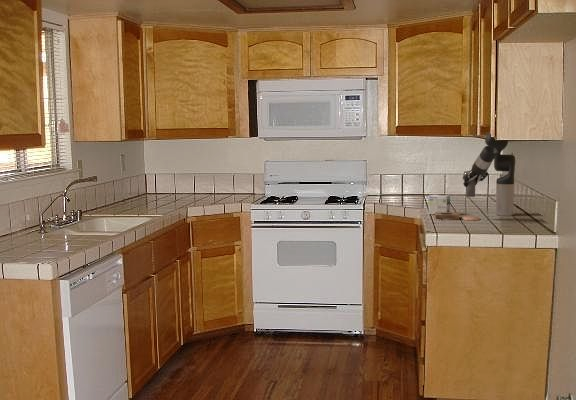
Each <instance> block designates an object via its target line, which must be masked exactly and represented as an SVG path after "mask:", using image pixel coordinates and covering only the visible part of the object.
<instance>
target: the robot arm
mask: <svg viewBox="0 0 576 400" xmlns="http://www.w3.org/2000/svg"><path fill="white" fill-rule="evenodd" d="M484 142H485V144H486V146H484V147H483V148H482V151H481V152H480V153H479V154H478V156H477V158H476V159H475V160H474V162H473V164H472V165H471V169H470V170H468V171H469V172H466V171H467V170H465V171H464V172H463V174H462V179H463V181H464V182H463V186H464V187H465V188H467V185H468V183H469V182H470V181H471V180H473V179H474V178H476V181H475V186H477V185H478V183H480V182H483V181H484V180H485V179H486V178H487V177H489V172H488V170H489V168H490V166H491V165H492V163H493V167H494V170H495V171H496V172H508V173H506V175H504V176H501V177H498V178H496V182H495V185H496V187H495V188H496V191H495V193H496V195H495V215H496V216H501V217H502V216H503V217H507V216H509V217H510V216H514V209H515V208H514V206H515V203H514V202H515V170H516V169H515V168H516V157H515V154H502V153H501V152H502V151H503V150H505V149H506V147H507V146H508V144H509V140H508V141H495V139H494V138H492V137H491V134H490V131H488V133H487V135H486V136H485V139H484ZM471 177H472V178H471ZM468 178H469V180H468Z"/></svg>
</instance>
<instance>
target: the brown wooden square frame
mask: <svg viewBox="0 0 576 400" xmlns="http://www.w3.org/2000/svg"><path fill="white" fill-rule="evenodd" d="M435 218H436V219H449V220H448V221H460V214H459V213H458V212H453V211H452V212H451V211H450V212H435V215H434V219H435ZM436 219H435V220H436ZM450 219H451V220H450Z"/></svg>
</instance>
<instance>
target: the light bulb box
mask: <svg viewBox="0 0 576 400" xmlns="http://www.w3.org/2000/svg"><path fill="white" fill-rule="evenodd" d="M435 212H451V195H450V194H449V195H445V194H443V195H442V194H431V195H428V215H429V214H435Z"/></svg>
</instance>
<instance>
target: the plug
mask: <svg viewBox="0 0 576 400" xmlns="http://www.w3.org/2000/svg"><path fill="white" fill-rule="evenodd" d="M465 171H466V172H469V171H470V170H465ZM471 178H472V177H471ZM468 180H469V178H468ZM475 181H476V178H474V179H473V180H471V181H470V182H469V183H468V185H467V187H466V194H465V195H466V197H467V198H475V197H476V185H475Z"/></svg>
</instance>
